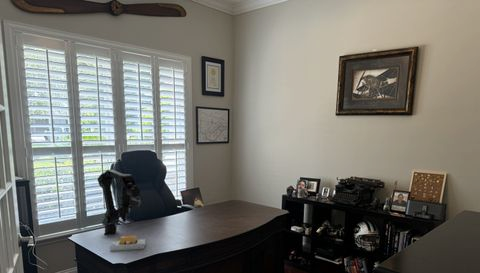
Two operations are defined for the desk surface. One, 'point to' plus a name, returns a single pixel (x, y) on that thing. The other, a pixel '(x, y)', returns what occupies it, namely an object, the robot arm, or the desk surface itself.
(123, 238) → the clip
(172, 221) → the desk surface
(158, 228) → the desk surface
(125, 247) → the rail
